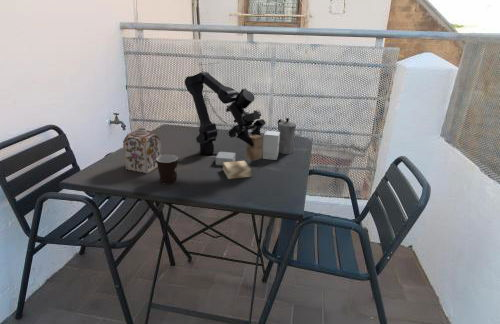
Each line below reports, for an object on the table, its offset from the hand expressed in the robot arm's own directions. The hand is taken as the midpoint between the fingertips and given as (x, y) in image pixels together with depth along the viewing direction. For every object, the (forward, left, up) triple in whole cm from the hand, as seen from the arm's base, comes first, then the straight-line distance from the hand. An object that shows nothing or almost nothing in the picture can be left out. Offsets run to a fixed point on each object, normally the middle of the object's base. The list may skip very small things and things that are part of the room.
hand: (257, 144), depth 144 cm
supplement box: (+10, +19, -14) cm, 26 cm away
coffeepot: (+19, +28, -14) cm, 37 cm away
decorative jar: (-50, +9, -14) cm, 52 cm away
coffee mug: (-37, -5, -14) cm, 39 cm away
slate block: (-13, +13, -14) cm, 23 cm away
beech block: (-9, 0, -14) cm, 16 cm away
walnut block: (-1, +1, -7) cm, 7 cm away
